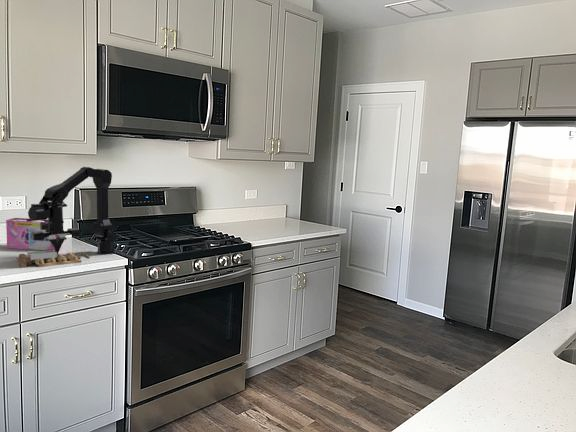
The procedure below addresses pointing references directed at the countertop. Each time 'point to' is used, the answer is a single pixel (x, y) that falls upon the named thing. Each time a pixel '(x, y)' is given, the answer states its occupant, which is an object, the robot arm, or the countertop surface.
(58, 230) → the robot arm
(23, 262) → the stop block
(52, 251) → the slab
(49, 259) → the roller track
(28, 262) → the roller
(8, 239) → the gum box
